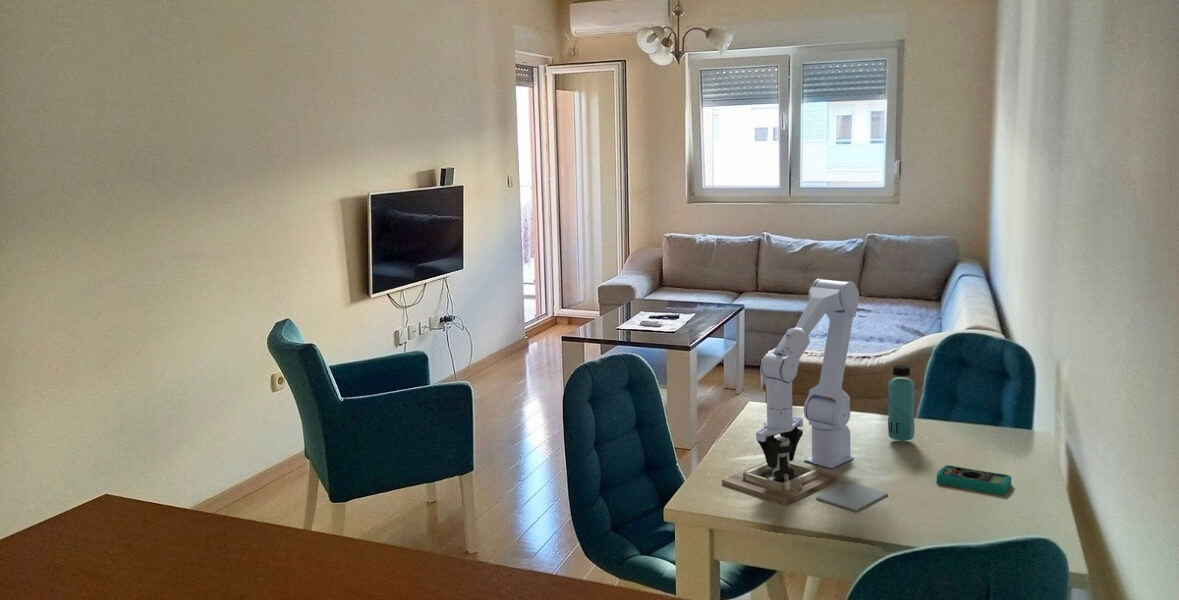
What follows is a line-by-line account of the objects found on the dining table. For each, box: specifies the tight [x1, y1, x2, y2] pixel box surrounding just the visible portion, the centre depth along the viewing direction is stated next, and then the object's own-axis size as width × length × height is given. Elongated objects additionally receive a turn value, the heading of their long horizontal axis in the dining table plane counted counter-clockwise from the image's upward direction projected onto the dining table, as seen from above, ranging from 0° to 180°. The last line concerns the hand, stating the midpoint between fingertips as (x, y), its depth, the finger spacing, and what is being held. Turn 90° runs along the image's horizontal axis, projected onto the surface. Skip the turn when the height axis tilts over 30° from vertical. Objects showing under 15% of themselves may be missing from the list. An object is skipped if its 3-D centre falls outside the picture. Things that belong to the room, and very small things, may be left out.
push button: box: [767, 436, 795, 483], centre depth 209 cm, size 7×5×10 cm
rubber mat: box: [816, 481, 889, 513], centre depth 199 cm, size 12×10×1 cm
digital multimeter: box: [936, 464, 1012, 496], centre depth 203 cm, size 7×15×3 cm, turn 53°
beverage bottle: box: [887, 364, 916, 442], centre depth 230 cm, size 6×7×20 cm
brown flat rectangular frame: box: [721, 460, 841, 506], centre depth 210 cm, size 20×18×3 cm
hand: (780, 463), depth 209 cm, fingers open, 5 cm apart
